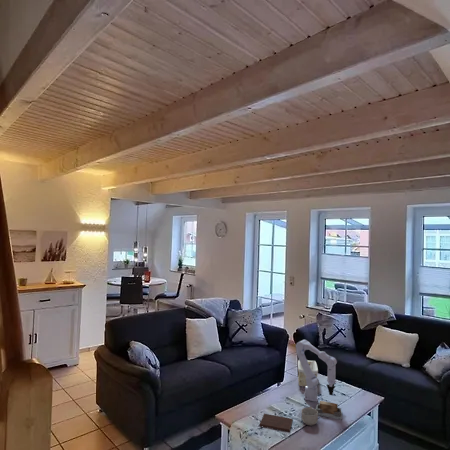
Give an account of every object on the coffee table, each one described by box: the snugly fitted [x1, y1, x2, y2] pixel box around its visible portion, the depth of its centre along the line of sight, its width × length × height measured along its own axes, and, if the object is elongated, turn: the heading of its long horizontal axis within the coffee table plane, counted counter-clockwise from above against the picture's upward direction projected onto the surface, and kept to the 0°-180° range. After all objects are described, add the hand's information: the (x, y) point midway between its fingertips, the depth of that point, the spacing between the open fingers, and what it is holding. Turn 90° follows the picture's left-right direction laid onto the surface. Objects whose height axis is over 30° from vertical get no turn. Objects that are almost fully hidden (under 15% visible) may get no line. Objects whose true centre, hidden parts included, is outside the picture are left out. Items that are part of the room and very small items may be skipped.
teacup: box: [300, 406, 319, 426], centre depth 234 cm, size 14×11×8 cm
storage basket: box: [297, 359, 319, 387], centre depth 298 cm, size 24×16×15 cm
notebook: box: [259, 413, 294, 433], centre depth 232 cm, size 15×20×2 cm
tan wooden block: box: [319, 400, 339, 415], centre depth 246 cm, size 12×4×6 cm, turn 70°
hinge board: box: [315, 403, 343, 420], centre depth 246 cm, size 18×10×4 cm, turn 70°
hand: (331, 392), depth 258 cm, fingers open, 7 cm apart
